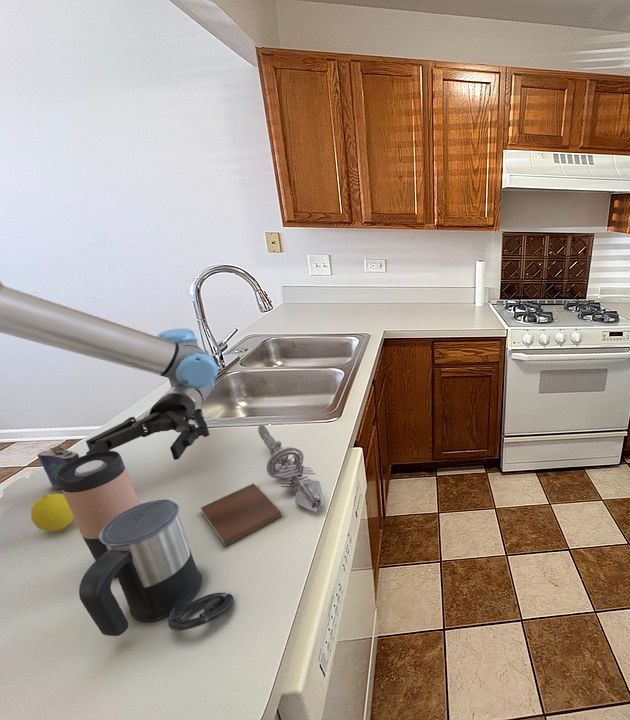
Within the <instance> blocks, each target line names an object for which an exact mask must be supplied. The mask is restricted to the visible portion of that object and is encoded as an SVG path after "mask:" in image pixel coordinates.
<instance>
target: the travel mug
mask: <svg viewBox="0 0 630 720" xmlns="http://www.w3.org/2000/svg"><path fill="white" fill-rule="evenodd" d="M56 478H57V481H58V483H59V485H60V487H61V490H60V491H61V492H62V494H63V495H64V496H65V499H66V501H67V503H68V505H69V508H70V510H71V512H72V514H73V516H74V519H73V520H74V521H75V523H76V525H77V528H78V530H79V532H80V535H81V537H82V539H83V540H84V542H85V544H86V546H87V547H88V549H89V551H90V553H91V556H92V557H93V559H94V562H95V561H96V560H98V559H99V558H100V557H101V556H102V555H103V554H104V553H106V552H107V551H108V549H107V547H106V545H105V544H103V543H102V542H101V541H100V540H99V535H100V532H101V530H102V529H103V527H104V526H105V525H106V524H107V523H108V522H109V521H110V520H112V519H113V518H114V517H116V516H118V515H119V514H121V513H122V512H124V511H126V510H128V509H130V508H132V507H134V506H137V505H140V504H141V503H140V500H139V498H138V496H137V492H136V490H135V487H134V486H133V483H132V480H131V478H130V476H129V474H128V471H127V468H126V466H125V463H124V461H123V459H122V456H121V454H120V453H119V452H118V451H116V450H109V451H101V452H95V453H91V454H88V455H86V454H84V455H82V456H79V458H77V459H74V460H72V461H70V462H68V463H67V464H65V465H63V466H62V467H61V468H60V469H59V470H58V471H57V472H56ZM114 578H118V577H117V575H115V576H114ZM114 578H113V579H114Z"/></svg>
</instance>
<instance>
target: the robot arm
mask: <svg viewBox="0 0 630 720" xmlns="http://www.w3.org/2000/svg"><path fill="white" fill-rule="evenodd" d="M0 334H4V335H8V336H11V337H16V338H18V339H19V338H20V339H22V340H25V341H26V340H27V341H30V342H33V343H38V344H42V345H44V346H48V347H53V348H55V349H60V350H64V351H68V352H71V353H75V354H79V355H82V356H86V357H89V358H93V359H97V360H101V361H105V362H108V363H112V364H116V365H119V366H124V367H127V368H131V369H134V370H139V371H142V372H144V373H145V372H146V373H149V374H153V375H157V376H159V377H163V378H167V379H168V381H169V384H170V388H169V389H168V390H167V391H166V392H165V393H164V394H163V395H162V396H161V397H160V398H159V399H158V400H157V401H156V402H155V403H154V404H153V405H152V407H151V409H150V411H149V413H148V415H146V416H144V417H143V418H142V419H136V417H135V416H129V417H128V418H127V419H125V420H124V421H123V422H121V423H118V424H117V425H114V426H113V427H111V428H109V429H106V430H105V431H103V432H101V433H99V434H97V435H95V436H93V437H91V438H89V439H87V440H85V443H86V446H87V448H88V451H86V453H85V455H88V454H91V453H95V452H101V451H112V450H113V449H116V448H118V447H120V446H123V445H125V444H127V443H130V442H132V441H134V440H136V439H138V438H140V437H141V438H146V437H149V436H151V435H153V434H155V433H160V432H170V431H171V430H172V431H174V432H176V433H180V434H179V435H178V436H177V438H176V439H175V440H174V442H173V443H172V444H171V445H170V447H169V449H170V453H171V455H172V458H173V460H174V461H175V460H176V461H177V460H180V458H181V457H182V455H183V454H184V452H185V451H186V449H187V448H188V447H191V446H192V445H193V444H194V442H195V441H196V440H198V439H199V438H200V437H203V438H208V437H209V436H210V435H211V434H210V431H209V427H208V424H207V422H206V420H205V416H204V413H203V410H202V408H200V407H202V405H203V404H204V403H205V401H206V400H207V399H208V398H209V397H210V396H211V394H212V392H213V390H214V388H215V380H217V377H218V374H219V368H218V365H217V363H216V361H215V359H214V358H213V357H212V356H211V355H210V354H208V353H207V352H206V351H204V350H203V349H202V348H201V347H200V346H199V344H198V338H197V337H196V333H195V331H194V330H193V329H191V328H185V327H184V328H181V327H180V328H173V329H168V330H164V331H161V332H160V333H158V334H157V335H154V334H150V333H147V332H145V331H142V330H138V329H135V328H132V327H129V326H126V325H123V324H120V323H117V322H114V321H112V320H108V319H105V318H102V317H99V316H97V315H93V314H91V313H87V312H84V311H82V310H78V309H76V308H72V307H70V306H66V305H63V304H60V303H57V302H54V301H51V300H48V299H45V298H42V297H39V296H36V295H33V294H30V293H27V292H25V291H21V290H19V289H15V288H12V287H9V286H6V285H5V284H3V282H2V281H1V280H0ZM190 421H193V424H192V423H190ZM145 430H146V431H145Z"/></svg>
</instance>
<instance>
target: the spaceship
mask: <svg viewBox="0 0 630 720" xmlns="http://www.w3.org/2000/svg"><path fill="white" fill-rule="evenodd" d="M257 431H258V435H259V437H260V439H261V440H262V442H263V443H264V444H265V446H266V447H267V449H268V450H269V454H270V455H271V456H270V458H269V459H268V461H267V464H266V472H267V474H268V476H269V477H270V478H272V479H276V482H278V484H279V485H280V487H281V488H288V489H290V491H291V492H292V493H293V495H295V498H294V503H295V504H297V505H299V506H301V507H303V508H305V509H307V510H310V511H312V512H317V511H318V510H320V511H322V509H321V506H323V505H324V498H323V497H324V495H323V491H322V487H321V483H320V480H313V479H311V478H309V476H308V475H316V473H315V472H314V471H313V470H312V468H311V467H306V466H305V465H303V463H304V458H305V457H304V452H303V451H302V450H301V449H300V448H298V447H296V446H286V447H283V446H282V442H281V441H280V440H277V441H276V440H275V438H274V437H273V435H271V434H270V431H269V430H268V428H267V427H266V426H265V425H263V424H259V425H258V427H257ZM289 456H291V457H290V458H289ZM277 465H280V466H279V467H277ZM303 475H306V476H303ZM287 478H290V479H287Z"/></svg>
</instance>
